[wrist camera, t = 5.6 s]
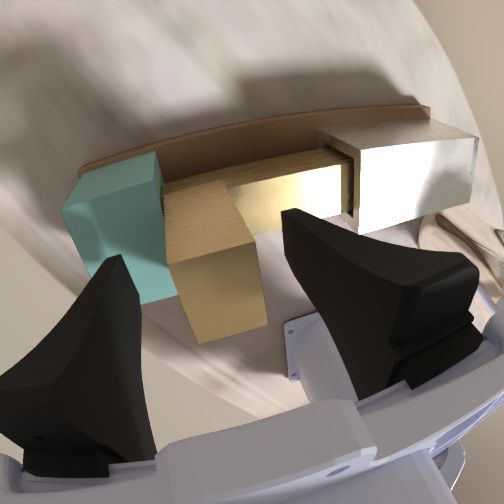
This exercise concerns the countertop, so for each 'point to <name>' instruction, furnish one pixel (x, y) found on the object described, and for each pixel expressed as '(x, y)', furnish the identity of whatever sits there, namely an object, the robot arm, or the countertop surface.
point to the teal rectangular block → (123, 222)
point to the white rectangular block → (403, 169)
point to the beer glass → (470, 250)
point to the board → (254, 140)
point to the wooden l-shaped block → (242, 231)
